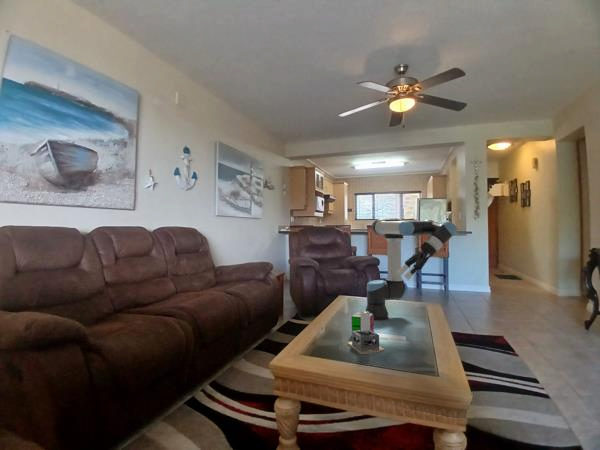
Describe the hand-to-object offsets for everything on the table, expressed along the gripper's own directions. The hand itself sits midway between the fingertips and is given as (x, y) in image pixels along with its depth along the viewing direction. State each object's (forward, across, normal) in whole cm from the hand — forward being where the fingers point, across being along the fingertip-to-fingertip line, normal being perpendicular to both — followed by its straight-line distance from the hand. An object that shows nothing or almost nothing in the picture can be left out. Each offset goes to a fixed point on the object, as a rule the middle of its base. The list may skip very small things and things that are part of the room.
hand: (402, 276), depth 154 cm
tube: (+37, -10, -8) cm, 39 cm away
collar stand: (+38, -10, -8) cm, 40 cm away
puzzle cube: (+37, +11, -10) cm, 40 cm away
